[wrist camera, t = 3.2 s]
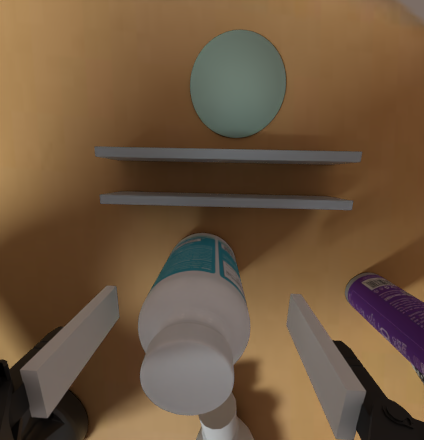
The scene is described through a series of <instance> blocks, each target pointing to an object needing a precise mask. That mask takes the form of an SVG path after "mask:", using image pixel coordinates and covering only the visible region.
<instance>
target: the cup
mask: <svg viewBox="0 0 424 440" xmlns="http://www.w3.org/2000/svg"><path fill="white" fill-rule="evenodd" d="M411 364H412V363H411ZM412 366H413V368H414V370H415V371H416V373H417V374H418V376H419V377H420V379H421V381H422V382H423V384H424V375H423V374H422V373H421V372H420V371H419V370H418V369H417V368H416V367H415V366H414V365H413V364H412Z"/></svg>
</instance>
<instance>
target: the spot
mask: <svg viewBox="0 0 424 440" xmlns="http://www.w3.org/2000/svg"><path fill="white" fill-rule="evenodd" d="M285 89H286V74H285V69H284V65H283V62H282V59H281V57H280V55H279V53H278V51H277V50H276V48H275V47H274V46H273V45H272V44H271V43H270V42H269V41H268V40H267V39H266V38H264V37H263V36H261V35H259V34H257V33H255V32H252V31H248V30H232V31H228V32H225V33H223V34H220V35H218V36H217V37H215V38H214V39H212V40H211V41H210V42H209V43H208V44H207V45H206V46H205V47H204V48H203V49H202V51H201V52H200V53H199V55H198V57H197V59H196V61H195V63H194V66H193V69H192V73H191V79H190V92H191V98H192V102H193V105H194V108H195V110H196V113H197V114H198V116H199V118H200V119H201V120H202V122H203V123H204V124H205V125H206V126H207V127H208V128H210V129H211V130H212V131H214V132H216V133H217V134H220V135H222V136H226V137H231V138H242V137H247V136H250V135H253V134H255V133H257V132H259V131H260V130H262V129H263V128H264V127H266V126H267V125H268V124H269V123H270V122H271V121H272V120H273V118H274V117H275V115H276V114H277V112H278V111H279V109H280V107H281V104H282V102H283V99H284V95H285Z"/></svg>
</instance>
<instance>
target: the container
mask: <svg viewBox="0 0 424 440" xmlns="http://www.w3.org/2000/svg"><path fill="white" fill-rule="evenodd" d="M345 296H346V299H347V301H348V302H349V303H350V304H351V305H352V306H353V307H354V308H355V309H356V310H357V311H358V312H359V313H360V314H361V315H362V316H363V317H364V318H365V319H366V320H367V321H368V322H369V323H370V324H371V325H372V326H373V327H374V328H375V329H376V330H377V331H378V332H380V333H381V334H382V335H383V336H384V337H385V338H386V339H387V340H388V341H389V342H390V343H391V344H392V345H393V346H394V347H395V348H396V349H397V350H398V351H399V352H400V353H401V354H402V355H403V356H404V357H405V358H406V359H407V360H409V361H410V362H411V363H412V364H413V365H414V366H415V367H416V368H417V369H418V370H419V371H420V372H421V373H422V374H423V375H424V302H422V301H420V300H419V299H417V298H415V297H414V296H412V295H410V294H409V293H407V292H406V291H404V290H402V289H401V288H399V287H397V286H396V285H394V284H392V283H391V282H389V281H388V280H386V279H384V278H383V277H381V276H379V275H377V274H375V273H362V274H359V275H357V276H355V277H354V278H353V279H351V280H350V282H349V283H348V284H347V287H346V290H345Z"/></svg>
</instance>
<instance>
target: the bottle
mask: <svg viewBox="0 0 424 440" xmlns="http://www.w3.org/2000/svg"><path fill="white" fill-rule="evenodd" d="M198 415H199V419H200V422H201V425H202V426H201V429H200V431H199V433H198V436H197V438H196V440H254V438H253V436H252V434H251V432H250V430H249V428H248V427H247V426H246V425H245V424H244V423H243V422H242V421H241V420H240V419H239V418H238V417H237V416H236V399H235V397H234V395H233V393H232V392H231V394H230V395H229V397H228V398H227V400H226V401H225V402H224V403H223V404H221V405H220V406H219V407H217V408H216V409H214V410H212V411H210V412H207V413H204V414H198Z"/></svg>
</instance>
